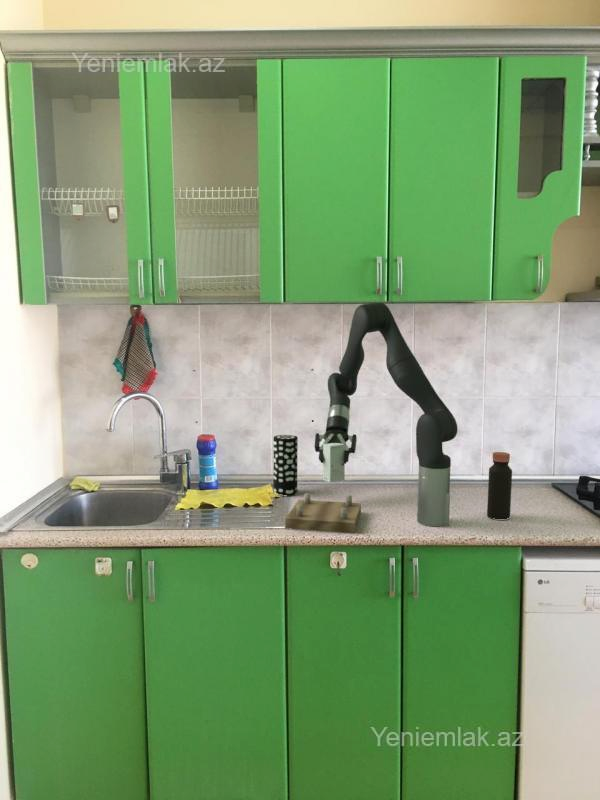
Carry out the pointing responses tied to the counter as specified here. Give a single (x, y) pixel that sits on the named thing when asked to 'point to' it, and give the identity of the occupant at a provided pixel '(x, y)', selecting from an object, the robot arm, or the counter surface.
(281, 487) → the spotted tube
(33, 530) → the counter surface
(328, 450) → the skincare box
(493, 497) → the bottle
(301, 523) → the walnut plinth
